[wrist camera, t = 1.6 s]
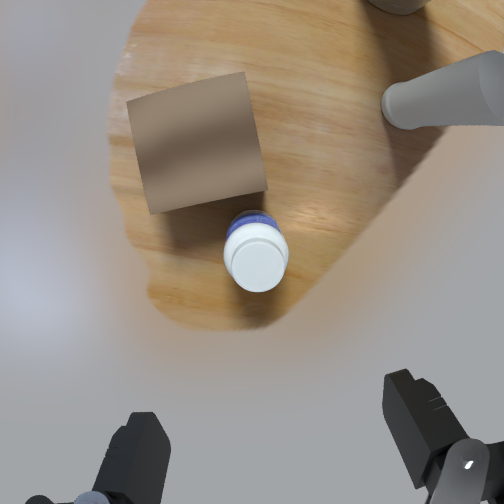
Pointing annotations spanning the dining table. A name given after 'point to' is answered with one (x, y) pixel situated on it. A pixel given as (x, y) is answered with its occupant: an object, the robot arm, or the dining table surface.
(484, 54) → the bottle
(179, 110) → the walnut block
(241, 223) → the pill bottle
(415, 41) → the dining table surface
